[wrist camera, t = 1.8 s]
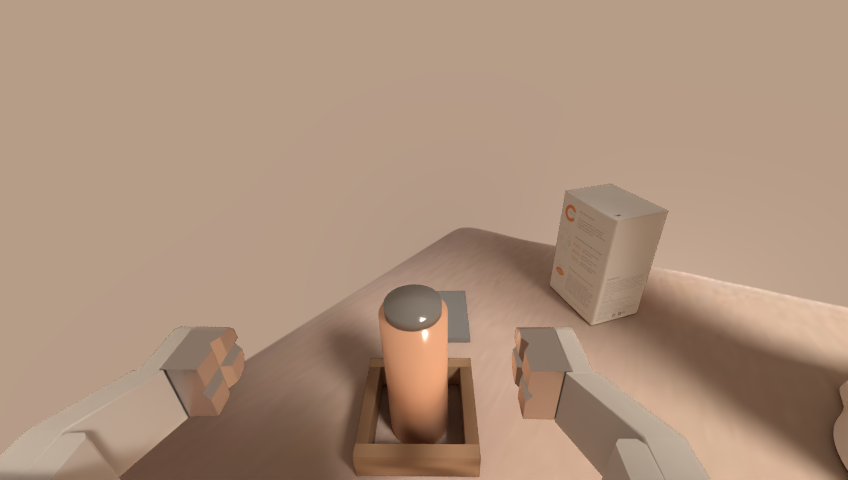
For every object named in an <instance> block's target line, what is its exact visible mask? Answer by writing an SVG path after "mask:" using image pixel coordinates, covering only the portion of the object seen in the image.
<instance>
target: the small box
mask: <svg viewBox="0 0 848 480" xmlns="http://www.w3.org/2000/svg"><path fill="white" fill-rule="evenodd" d="M667 213H668V210H666V209H664V208H662V207H660V206H658V205H655V204H653V203H651V202H649V201H647V200H644V199H642V198H640V197H638V196H636V195H634V194H632V193H630V192H628V191H625V190H623V189H621V188H619V187H617V186H615V185H613V184H606V185H599V186H592V187H585V188H579V189H573V190H567V191H565V197H564V203H563V209H562V215H561V221H560V227H559V233H558V238H557V244H556V250H555V256H554V262H553V268H552V274H551V280H550V286H551V287H552V288H553V289H554V290H555V291H556V292H557V293H558V294H559V295H560V296H561V297H562V298H563V299H564V300H565V301H566V302H567V303H568V304H569V305H570V306H571V307H573V308H574V309H575V310H576V311H577V312H578V313H579V314H580V315H581V316H582V317H583V318H584V319H585V320H586V321H587V322H588V323H589V324H590V325H595V324H599V323H603V322H606V321H610V320H613V319H617V318H621V317H624V316H628V315H631V314H635V313H637V310H638V307H639V304H640V300H641V297H642V294H643V291H644V288H645V285H646V282H647V278H648V275H649V272H650V269H651V265H652V262H653V259H654V256H655V252H656V249H657V246H658V243H659V239H660V236H661V233H662V230H663V226H664V223H665V220H666V217H667Z"/></svg>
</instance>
